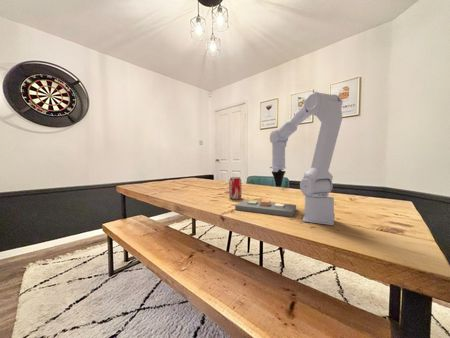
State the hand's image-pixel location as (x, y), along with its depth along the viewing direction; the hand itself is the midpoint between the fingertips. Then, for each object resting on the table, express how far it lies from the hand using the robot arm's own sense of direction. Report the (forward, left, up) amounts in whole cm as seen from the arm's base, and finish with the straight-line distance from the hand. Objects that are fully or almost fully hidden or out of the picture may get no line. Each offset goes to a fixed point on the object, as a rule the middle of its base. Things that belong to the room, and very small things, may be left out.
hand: (278, 186), depth 86 cm
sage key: (+10, +8, -9) cm, 16 cm away
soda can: (+26, -8, -10) cm, 29 cm away
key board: (+4, +8, -9) cm, 13 cm away
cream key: (-2, +8, -9) cm, 12 cm away
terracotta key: (+4, +8, -8) cm, 12 cm away
